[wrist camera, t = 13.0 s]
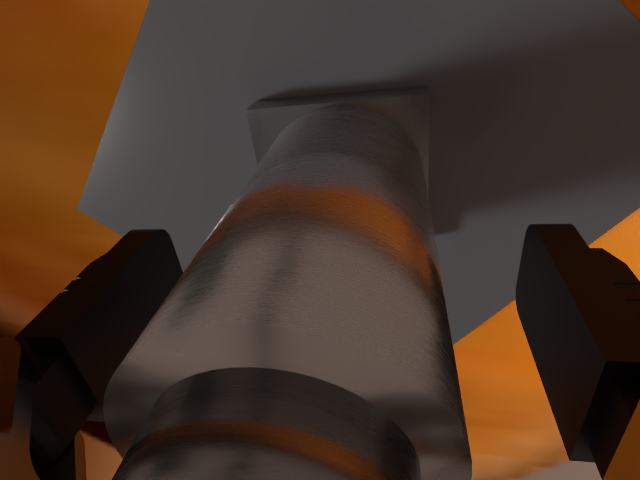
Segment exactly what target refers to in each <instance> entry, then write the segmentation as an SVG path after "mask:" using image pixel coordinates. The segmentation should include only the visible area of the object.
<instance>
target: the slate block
mask: <svg viewBox="0 0 640 480" xmlns="http://www.w3.org/2000/svg"><path fill="white" fill-rule="evenodd" d="M423 85H427V87H428V90H429V93H430V100H429V175H428V199H429V205H430V211H431V217H432V223H433V229H434V235H435V241H436V247H437V253H438V259H439V265H440V272H441V278H442V284H443V290H444V296H445V302H446V308H447V314H448V320H449V326H450V332H451V338H452V344H453V345H454V344H455V343H456V342H458V341H459V340H460V339H462V338H463V337H464V336H466V335H467V334H468V333H470V332H471V331H473V330H474V329H475V328H477V327H478V326H479V325H481V324H482V323H483V322H485V321H486V320H488V319H489V318H490V317H492V316H493V315H494V314H496V313H497V312H498V311H500V310H501V309H502V308H504V307H505V306H507V305H508V304H509V303H511V302H512V301H513V300H515V299H516V283H517V277H518V272H519V266H520V261H521V255H522V249H523V244H524V238H525V233H526V230H527V228H528V226H529V225H530V224H572V225H574V226H575V228H576V229H577V231H578V232H579V234H580V235H581V236H582V238H583V239H584V241H585V242H586V244H587V245H589V244H591V243H592V242H593V241H595V240H596V239H598V238H599V237H600V236H602V235H603V234H604V233H606V232H607V231H608V230H610V229H611V228H612V227H614V226H615V225H617V224H618V223H619V222H621V221H622V220H623V219H625V218H626V217H627V216H629V215H630V214H632V213H633V212H634V211H636V210H637V209H638V208H640V20H639V19H638V18H637V17H636V16H635V15H634V14H633V13H632V12H631V11H629V10H628V9H627V8H626V7H625V6H624V5H623V4H622V3H621V2H620V1H619V0H150V2H149V5H148V8H147V11H146V13H145V16H144V19H143V22H142V25H141V28H140V31H139V33H138V36H137V39H136V42H135V45H134V48H133V51H132V53H131V56H130V59H129V62H128V65H127V68H126V71H125V73H124V76H123V79H122V82H121V85H120V88H119V91H118V93H117V96H116V99H115V102H114V105H113V108H112V111H111V113H110V116H109V119H108V122H107V125H106V128H105V131H104V134H103V136H102V139H101V142H100V145H99V148H98V151H97V154H96V156H95V159H94V162H93V165H92V168H91V171H90V174H89V176H88V179H87V182H86V185H85V188H84V191H83V194H82V196H81V199H80V202H79V205H78V208H77V210H79V211H81V212H83V213H84V214H86V215H88V216H89V217H91V218H93V219H95V220H96V221H98V222H100V223H102V224H103V225H105V226H107V227H108V228H110V229H112V230H114V231H115V232H117V233H119V234H120V235H122V236H125V235H126V234H127V233H128V232H129V231H130V230H134V229H164V230H166V231H167V232H168V233H169V235H170V237H171V239H172V242H173V245H174V248H175V251H176V254H177V256H178V259H179V262H180V265H181V268H182V271H185V270H186V268H187V267H188V266H189V264H190V263H191V261H192V260H193V258H194V257H195V255H196V254H197V253H198V251H199V250H200V248H201V247H202V245H203V244H204V242H205V241H206V240H207V238H208V237H209V235H210V234H211V232H212V231H213V229H214V228H215V227H216V225H217V224H218V222H219V221H220V219H221V218H222V216H223V215H224V214H225V212H226V211H227V209H228V208H229V206H230V205H231V203H232V202H233V201H234V199H235V198H236V196H237V195H238V193H239V192H240V191H241V189H242V188H243V186H244V185H245V183H246V182H247V180H248V179H249V178H250V176H251V175H252V173H253V172H254V170H255V169H256V167H257V161H256V156H255V152H254V147H253V142H252V137H251V133H250V128H249V123H248V118H247V114H246V109H247V108H249V107H250V106H251V105H252V104H253V103H254V102H255V101H261V100H272V99H283V98H293V97H304V96H315V95H326V94H337V93H347V92H358V91H369V90H380V89H390V88H401V87H412V86H423Z"/></svg>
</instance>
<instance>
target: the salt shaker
mask: <svg viewBox="0 0 640 480" xmlns="http://www.w3.org/2000/svg"><path fill="white" fill-rule="evenodd" d="M429 100H430V93H429V90H428V87H427V85H423V86H412V87H401V88H390V89H380V90H369V91H358V92H347V93H337V94H326V95H315V96H304V97H293V98H283V99H272V100H261V101H255V102H254V103H253V104H252V105H251V106H250V107H249V108H247V109H246V114H247V118H248V123H249V128H250V133H251V137H252V142H253V147H254V152H255V156H256V161H257V167H256V169H255V170H254V172H253V173H252V175H251V176H250V178H249V179H248V180H247V182H246V183H245V185H244V186H243V188H242V189H241V191H240V192H239V193H238V195H237V196H236V198H235V199H234V201H233V202H232V203H231V205H230V206H229V208H228V209H227V211H226V212H225V214H224V215H223V216H222V218H221V219H220V221H219V222H218V224H217V225H216V227H215V228H214V229H213V231H212V232H211V234H210V235H209V237H208V238H207V240H206V241H205V242H204V244H203V245H202V247H201V248H200V250H199V251H198V253H197V254H196V255H195V257H194V258H193V260H192V261H191V263H190V264H189V266H188V267H187V268H186V270H185V271H184V273H183V274H182V276H181V277H180V279H179V280H178V281H177V283H176V284H175V286H174V287H173V289H172V290H171V292H170V293H169V294H168V296H167V297H166V299H165V300H164V302H163V303H162V305H161V306H160V307H159V309H158V310H157V312H156V313H155V315H154V316H153V318H152V319H151V320H150V322H149V323H148V325H147V326H146V328H145V329H144V330H143V332H142V333H141V335H140V336H139V338H138V339H137V341H136V342H135V343H134V345H133V346H132V348H131V349H130V351H129V352H128V354H127V355H126V356H125V358H124V359H123V361H122V362H121V364H120V365H119V367H118V368H117V369H116V371H115V373H114V374H113V376H112V378H111V379H110V381H109V383H108V386H107V389H106V392H105V395H104V404H103V413H104V420H105V425H106V428H107V431H108V434H109V437H110V439H111V441H112V442H113V444H114V446H115V448H116V450H117V451H118V453H119V454H120V456H121V457H122V458H123V460H122V462H121V464H120V466H119V468H118V469H117V471H116V473H115V475H114V477H113V479H112V480H471V477H472V459H471V453H470V447H469V441H468V435H467V429H466V423H465V417H464V411H463V405H462V399H461V393H460V387H459V381H458V375H457V369H456V362H455V356H454V350H453V344H452V338H451V332H450V326H449V320H448V314H447V308H446V302H445V296H444V290H443V284H442V278H441V272H440V265H439V259H438V253H437V247H436V241H435V235H434V229H433V223H432V217H431V211H430V205H429V199H428V175H429Z"/></svg>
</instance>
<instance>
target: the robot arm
mask: <svg viewBox="0 0 640 480" xmlns="http://www.w3.org/2000/svg"><path fill="white" fill-rule="evenodd" d="M182 274H183V271H182V268H181V265H180V262H179V259H178V256H177V254H176V251H175V248H174V245H173V242H172V239H171V237H170V235H169V233H168V232H167V231H166V230H164V229H134V230H130V231H129V232H128V233H127V234H126V235H125V236H124V237H123V238H122V239H121V240H120V241H119V242H118V243H117V244H116V245H115V246H114V247H113V248H112V249H111V250H110V251H109V252H108V253H106V254H104V255H103V256H101V257H99V258H98V259H96V260H95V261H93V262H91V263H90V264H89V265H88V266H87V267H86V268H85V269H84V270H83V271H82V272H81V273H80V274H79V275H78V276H77V277H76V280H73V281H72V282H71V283H70V284H69V285H68V286H67V287H66V288H65V289H64V292H63V293H59V294H58V295H57V296H56V297H55V298H54V299H53V300H52V301H51V302H50V303H49V304H48V305H47V306H46V307H45V308H44V309H43V310H42V311H41V312H40V313H39V314H38V315H37V316H36V317H35V318H34V319H33V320H32V321H31V322H30V323H29V324H28V325H27V326H26V327H25V328H24V329H23V330H22V331H21V332H20V333H19V334H18V335H17V336H15V337H14V338H13V339H11V338H0V480H86V461H85V444H84V438H83V436H82V434H81V433H80V431H79V430H80V428H81V427H82V425H83V424H84V422H85V421H86V420H89V421H102V422H105V420H104V413H103V404H104V395H105V392H106V389H107V386H108V383H109V381H110V379H111V378H112V376H113V374H114V373H115V371H116V369H117V368H118V367H119V365H120V364H121V362H122V361H123V359H124V358H125V356H126V355H127V354H128V352H129V351H130V349H131V348H132V346H133V345H134V343H135V342H136V341H137V339H138V338H139V336H140V335H141V333H142V332H143V330H144V329H145V328H146V326H147V325H148V323H149V322H150V320H151V319H152V318H153V316H154V315H155V313H156V312H157V310H158V309H159V307H160V306H161V305H162V303H163V302H164V300H165V299H166V297H167V296H168V294H169V293H170V292H171V290H172V289H173V287H174V286H175V284H176V283H177V281H178V280H179V279H180V277H181V276H182ZM516 306H517V311H518V315H519V318H520V320H521V323H522V326H523V329H524V332H525V335H526V338H527V340H528V343H529V346H530V349H531V352H532V355H533V358H534V360H535V363H536V366H537V369H538V372H539V375H540V378H541V380H542V383H543V386H544V389H545V392H546V395H547V397H548V400H549V403H550V406H551V409H552V412H553V415H554V417H555V420H556V423H557V426H558V429H559V432H560V435H561V437H562V440H563V443H564V446H565V449H566V452H567V455H568V457H569V460H571V461H584V462H595V463H596V466H597V468H598V471H599V473H600V476H601V478H602V480H640V281H639V280H638V279H637V277H636V276H635V275H634V273H633V272H632V271H631V270H630V268H629V267H628V266H627V264H625V263H624V262H622V261H621V260H619V259H618V258H616V257H615V256H613V255H612V254H610V253H609V252H607V251H605V250H604V249H602V248H589V247H588V245H587V244H586V242H585V241H584V239H583V238H582V236H581V235H580V234H579V232H578V231H577V229H576V228H575V226H574V225H572V224H530V225H529V226H528V228H527V230H526V233H525V238H524V244H523V249H522V255H521V261H520V266H519V272H518V277H517V283H516Z"/></svg>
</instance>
